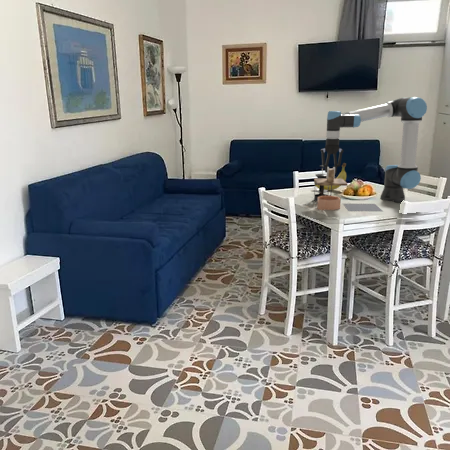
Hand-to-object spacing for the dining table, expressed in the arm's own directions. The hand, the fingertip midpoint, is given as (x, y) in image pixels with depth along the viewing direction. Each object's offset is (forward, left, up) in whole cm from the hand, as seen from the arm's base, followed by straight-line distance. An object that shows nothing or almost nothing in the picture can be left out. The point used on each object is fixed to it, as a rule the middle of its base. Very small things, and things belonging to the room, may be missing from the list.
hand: (330, 177), depth 266 cm
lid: (0, 0, -3) cm, 3 cm away
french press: (+1, -23, -19) cm, 30 cm away
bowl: (0, 0, -19) cm, 19 cm away
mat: (-20, 0, -19) cm, 27 cm away
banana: (-9, -57, -19) cm, 61 cm away
